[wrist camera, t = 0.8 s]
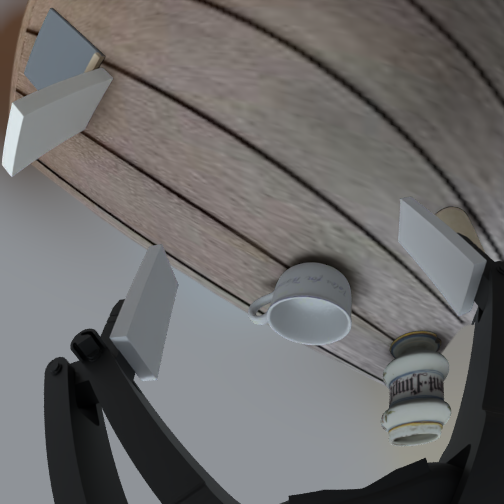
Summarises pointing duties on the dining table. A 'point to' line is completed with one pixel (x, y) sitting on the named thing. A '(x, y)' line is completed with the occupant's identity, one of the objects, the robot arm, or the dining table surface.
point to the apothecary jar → (416, 390)
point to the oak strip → (94, 62)
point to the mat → (58, 52)
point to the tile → (51, 117)
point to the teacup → (308, 305)
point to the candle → (459, 223)
